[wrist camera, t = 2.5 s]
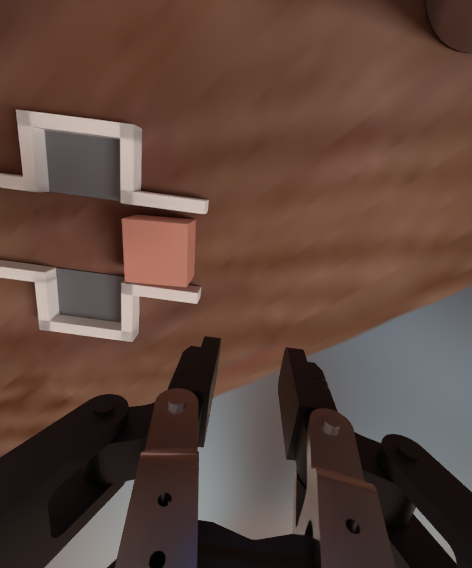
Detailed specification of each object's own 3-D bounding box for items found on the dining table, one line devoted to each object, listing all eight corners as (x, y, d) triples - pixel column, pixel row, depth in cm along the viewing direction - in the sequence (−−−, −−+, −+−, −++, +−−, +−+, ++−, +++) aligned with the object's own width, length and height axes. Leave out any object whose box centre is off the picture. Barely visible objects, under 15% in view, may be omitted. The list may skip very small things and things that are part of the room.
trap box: (214, 137, 27) (206, 128, 23) (196, 341, 34) (187, 366, 30) (-68, 101, 28) (-134, 84, 23) (-28, 310, 35) (-73, 330, 30)
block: (196, 219, 30) (188, 224, 26) (194, 275, 32) (186, 287, 28) (138, 214, 30) (121, 218, 26) (139, 270, 32) (124, 281, 28)
